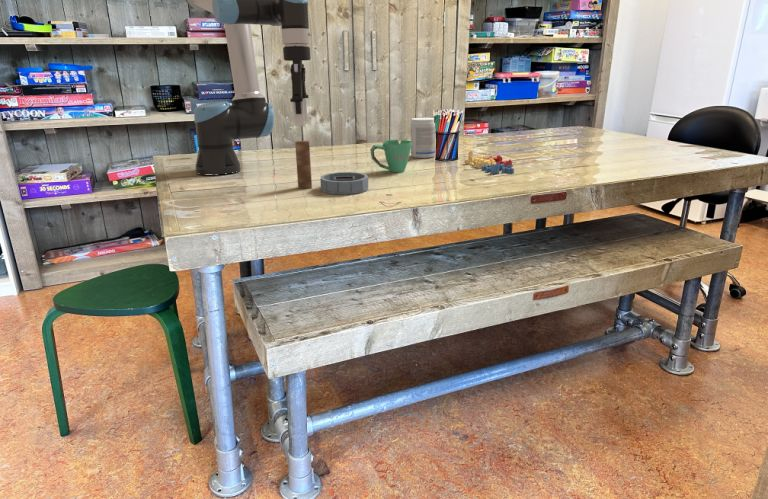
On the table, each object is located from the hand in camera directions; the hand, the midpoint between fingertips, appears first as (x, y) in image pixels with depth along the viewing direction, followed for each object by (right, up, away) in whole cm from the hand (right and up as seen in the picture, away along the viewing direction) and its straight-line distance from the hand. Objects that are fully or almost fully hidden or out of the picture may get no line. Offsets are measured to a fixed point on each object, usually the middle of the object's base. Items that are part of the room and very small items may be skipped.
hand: (301, 123), depth 158 cm
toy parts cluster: (+61, -5, +43) cm, 75 cm away
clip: (+12, -19, +4) cm, 23 cm away
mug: (+27, -10, +28) cm, 40 cm away
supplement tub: (+39, 0, +56) cm, 68 cm away
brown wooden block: (0, -18, +7) cm, 19 cm away
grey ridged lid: (+12, -19, +4) cm, 23 cm away
